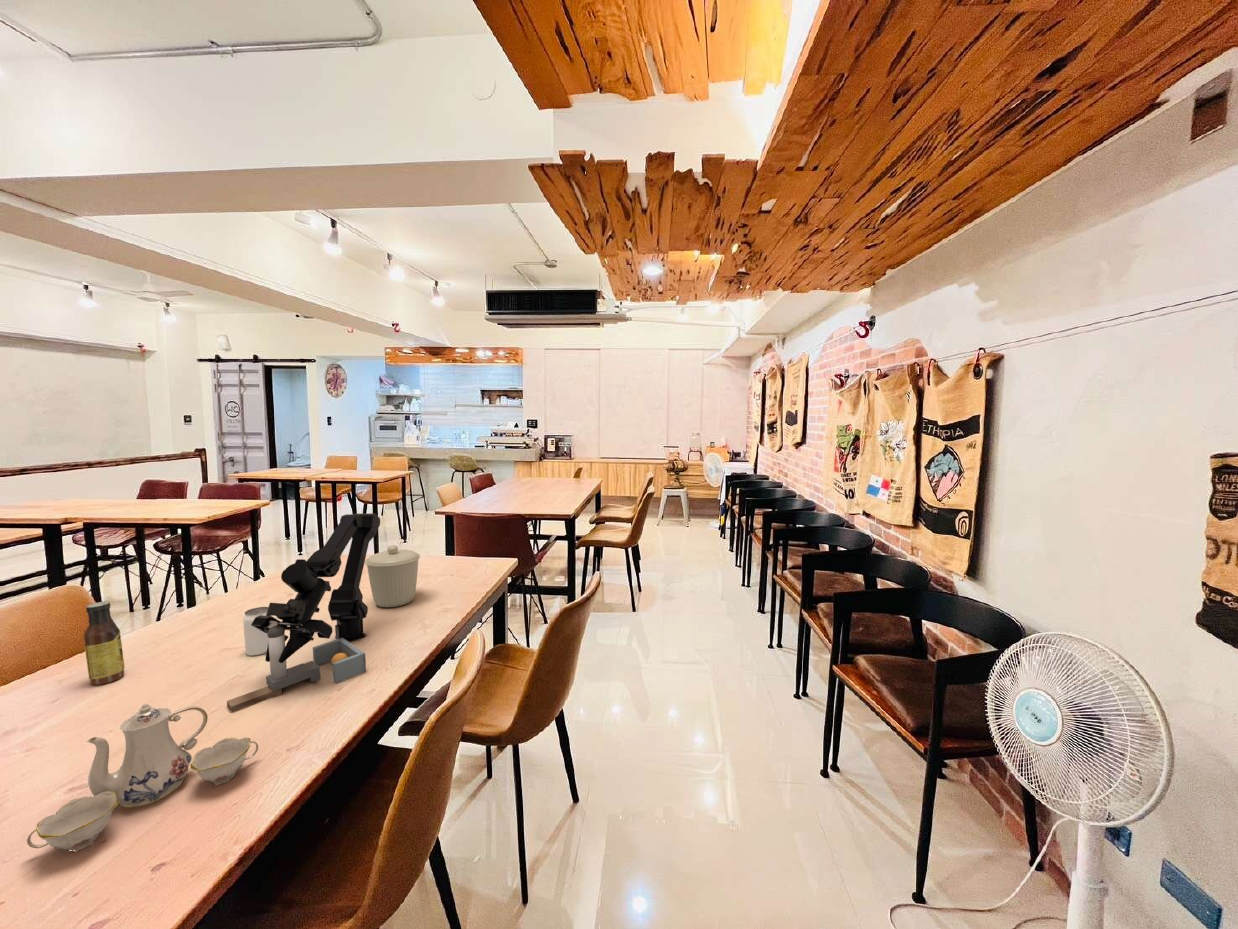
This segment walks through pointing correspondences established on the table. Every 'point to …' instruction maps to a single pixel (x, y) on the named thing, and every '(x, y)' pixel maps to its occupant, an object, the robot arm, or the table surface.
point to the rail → (252, 698)
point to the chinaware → (139, 775)
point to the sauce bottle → (103, 645)
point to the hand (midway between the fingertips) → (273, 662)
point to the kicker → (279, 670)
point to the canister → (393, 576)
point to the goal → (345, 666)
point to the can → (254, 633)
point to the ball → (338, 657)
